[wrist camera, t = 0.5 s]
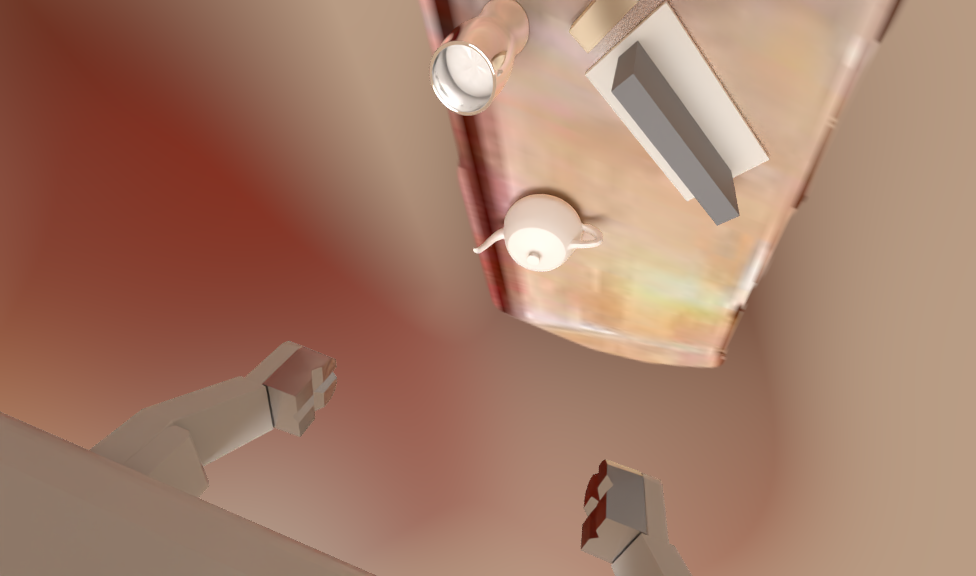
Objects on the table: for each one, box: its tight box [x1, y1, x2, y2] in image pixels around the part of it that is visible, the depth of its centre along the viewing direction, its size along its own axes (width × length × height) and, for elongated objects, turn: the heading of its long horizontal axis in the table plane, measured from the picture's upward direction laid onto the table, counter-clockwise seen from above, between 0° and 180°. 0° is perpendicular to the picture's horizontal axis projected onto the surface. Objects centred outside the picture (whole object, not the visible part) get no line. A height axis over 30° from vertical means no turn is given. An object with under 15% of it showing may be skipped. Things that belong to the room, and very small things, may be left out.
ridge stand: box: [585, 0, 769, 225], centre depth 44 cm, size 10×22×10 cm, turn 49°
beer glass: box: [429, 0, 529, 116], centre depth 41 cm, size 7×7×15 cm
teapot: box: [473, 194, 603, 272], centre depth 61 cm, size 20×12×10 cm, turn 106°
